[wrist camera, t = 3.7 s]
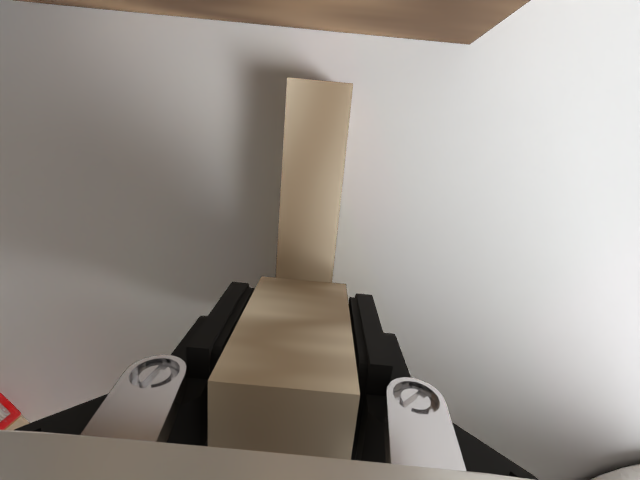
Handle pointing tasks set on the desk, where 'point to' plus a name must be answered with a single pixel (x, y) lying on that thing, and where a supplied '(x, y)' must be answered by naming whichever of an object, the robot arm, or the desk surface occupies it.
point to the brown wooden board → (336, 14)
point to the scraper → (296, 304)
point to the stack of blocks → (10, 415)
